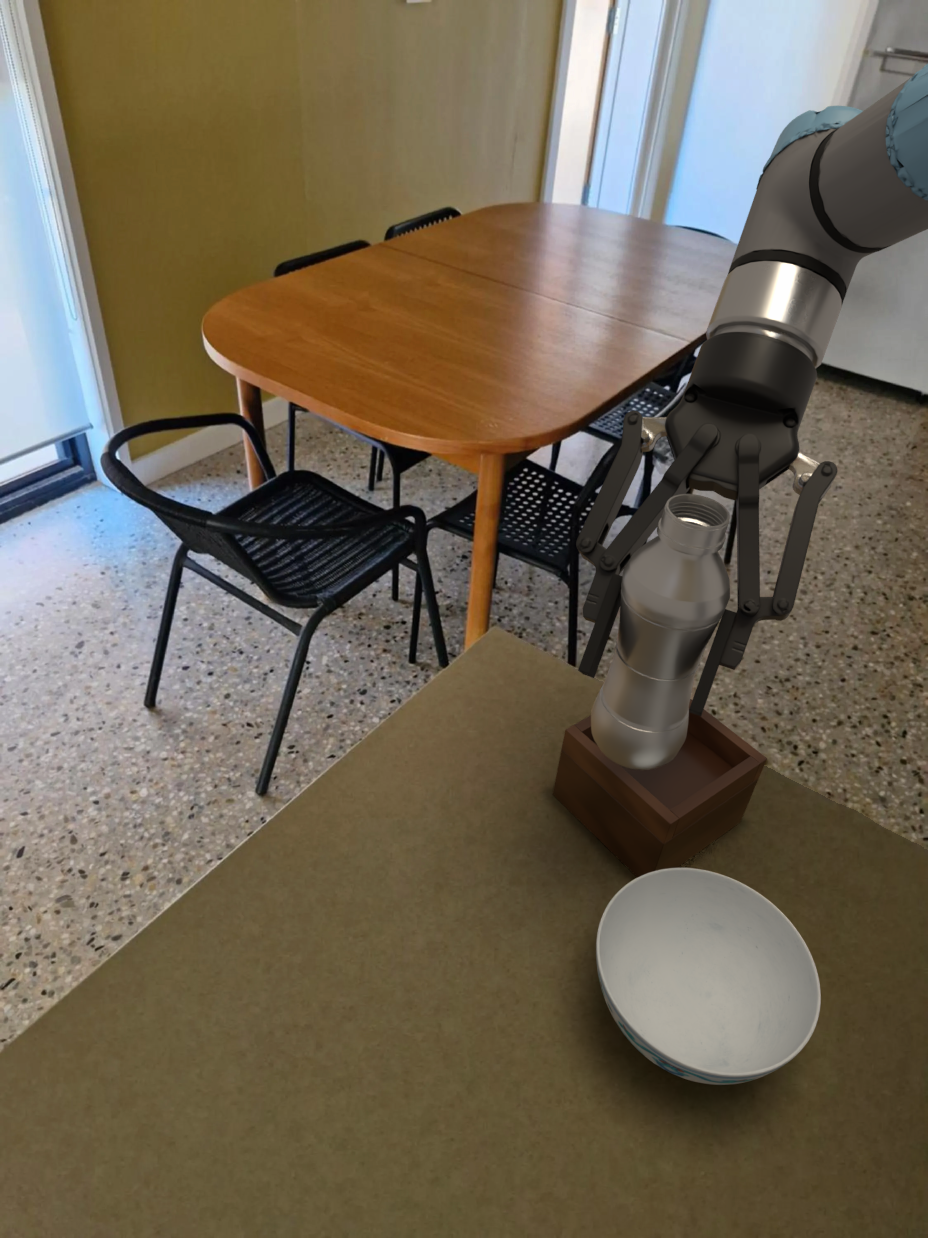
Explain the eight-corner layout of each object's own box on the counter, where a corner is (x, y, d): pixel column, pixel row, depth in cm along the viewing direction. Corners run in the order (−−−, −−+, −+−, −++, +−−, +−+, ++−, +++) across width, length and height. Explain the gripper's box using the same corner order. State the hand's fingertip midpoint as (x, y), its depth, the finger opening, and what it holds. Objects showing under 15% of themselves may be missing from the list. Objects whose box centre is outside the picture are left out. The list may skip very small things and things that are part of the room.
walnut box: (740, 822, 79) (767, 758, 74) (648, 889, 73) (670, 824, 68) (643, 739, 86) (661, 675, 81) (552, 794, 80) (565, 729, 75)
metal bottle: (658, 797, 60) (738, 557, 47) (569, 754, 63) (621, 515, 50) (691, 739, 64) (771, 505, 52) (606, 701, 67) (663, 469, 54)
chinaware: (593, 1126, 59) (614, 1074, 54) (569, 922, 70) (584, 864, 65) (814, 1128, 60) (854, 1077, 55) (754, 927, 71) (782, 869, 66)
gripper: (905, 415, 58) (789, 750, 56) (621, 347, 63) (509, 650, 62) (934, 366, 51) (803, 747, 49) (611, 294, 56) (485, 635, 55)
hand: (639, 692), depth 56 cm, fingers closed on metal bottle, 6 cm apart
